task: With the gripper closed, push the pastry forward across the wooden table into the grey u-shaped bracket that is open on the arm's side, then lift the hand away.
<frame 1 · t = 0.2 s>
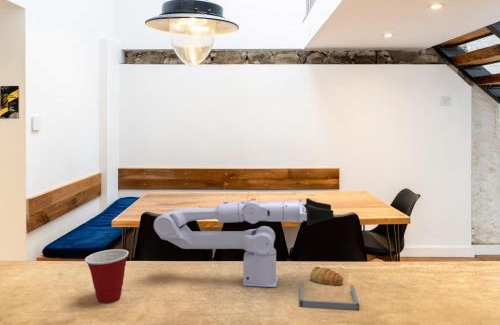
hand: (332, 211, 118), 21 cm above the worktop, tool horizontal, fingers open, 7 cm apart
plastic cup: (108, 299, 109), on the worktop
pastry: (325, 281, 123), on the worktop
grey u-shaped bracket: (327, 297, 110), on the worktop
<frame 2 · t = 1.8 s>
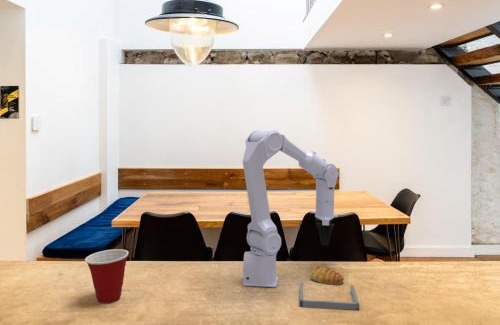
hand: (324, 242, 133), 8 cm above the worktop, tool pointing down, fingers open, 5 cm apart
nothing on the worktop moved.
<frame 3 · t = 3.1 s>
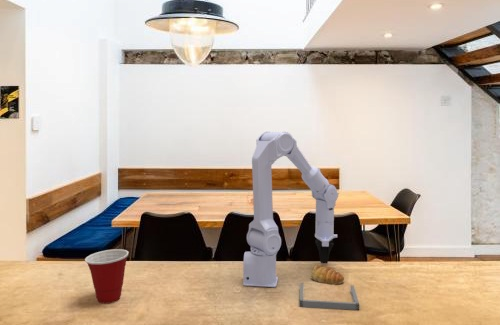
hand: (324, 262, 133), 2 cm above the worktop, tool pointing down, fingers closed
nothing on the worktop moved.
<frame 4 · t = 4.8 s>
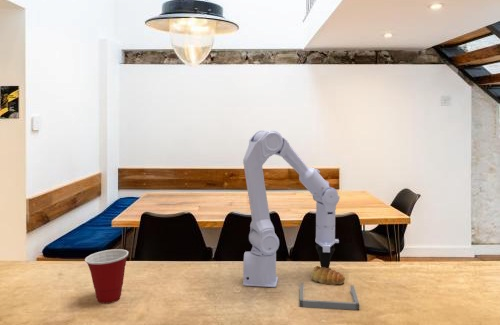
hand: (324, 269, 127), 2 cm above the worktop, tool pointing down, fingers closed
pastry: (326, 281, 123), on the worktop, touching gripper
everything else where it was.
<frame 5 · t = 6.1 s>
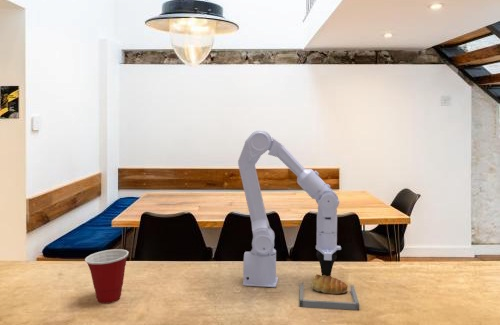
hand: (326, 277, 120), 2 cm above the worktop, tool pointing down, fingers closed
pastry: (327, 290, 116), resting in grey u-shaped bracket, touching gripper
everything else where it was.
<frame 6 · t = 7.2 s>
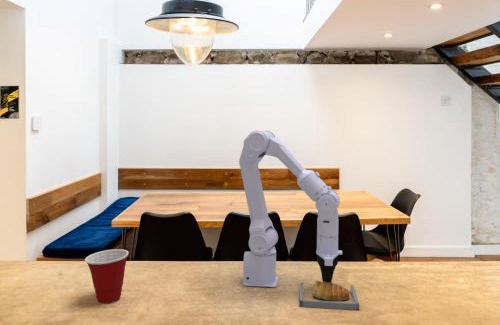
hand: (326, 283, 115), 2 cm above the worktop, tool pointing down, fingers closed
pastry: (328, 297, 111), resting in grey u-shaped bracket, touching gripper
everything else where it was.
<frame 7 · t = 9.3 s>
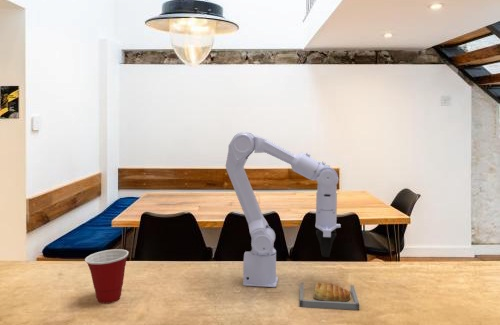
hand: (325, 256, 119), 8 cm above the worktop, tool pointing down, fingers closed
pastry: (329, 298, 111), resting in grey u-shaped bracket
everything else where it was.
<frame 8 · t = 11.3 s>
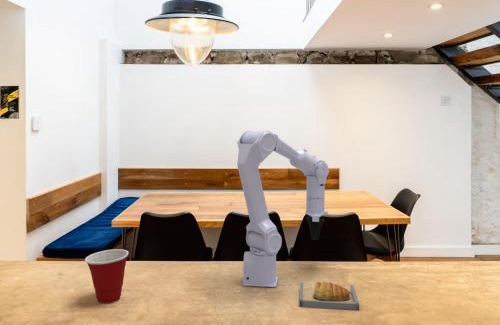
hand: (314, 239, 133), 9 cm above the worktop, tool pointing down, fingers closed
nothing on the worktop moved.
at the end: pastry inside the target area on the grey u-shaped bracket (2.2 cm from its centre), point -0.5 cm above the grey u-shaped bracket's base; pastry tilted 0° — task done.
